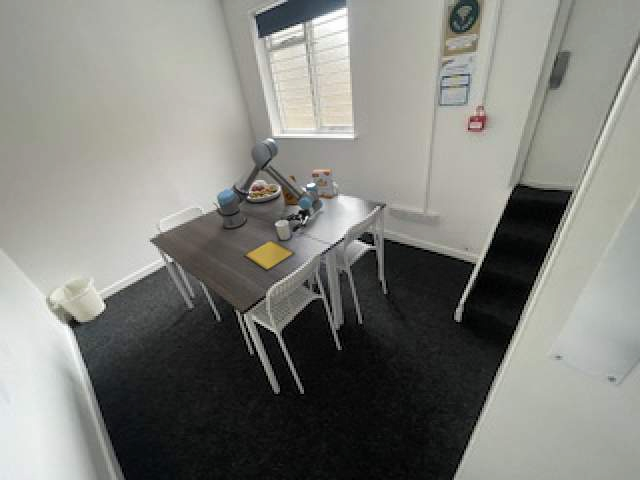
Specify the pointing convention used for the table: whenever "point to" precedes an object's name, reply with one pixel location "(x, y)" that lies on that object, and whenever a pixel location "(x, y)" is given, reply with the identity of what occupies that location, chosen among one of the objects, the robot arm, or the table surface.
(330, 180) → the cracker box
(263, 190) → the bowl
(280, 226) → the white cup
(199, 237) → the table surface
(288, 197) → the coffee package
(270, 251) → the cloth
